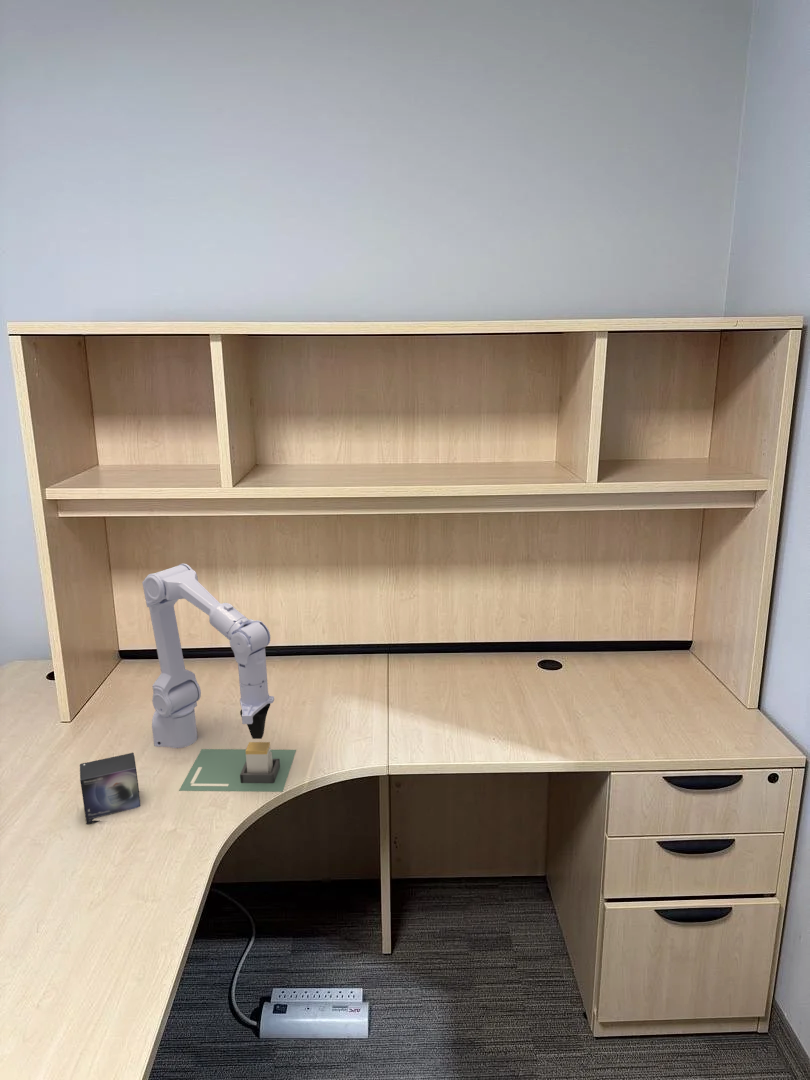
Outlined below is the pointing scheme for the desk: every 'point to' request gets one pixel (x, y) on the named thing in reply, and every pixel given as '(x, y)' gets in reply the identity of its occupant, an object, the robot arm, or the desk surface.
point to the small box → (109, 786)
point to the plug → (259, 757)
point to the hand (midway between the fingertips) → (257, 737)
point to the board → (236, 772)
